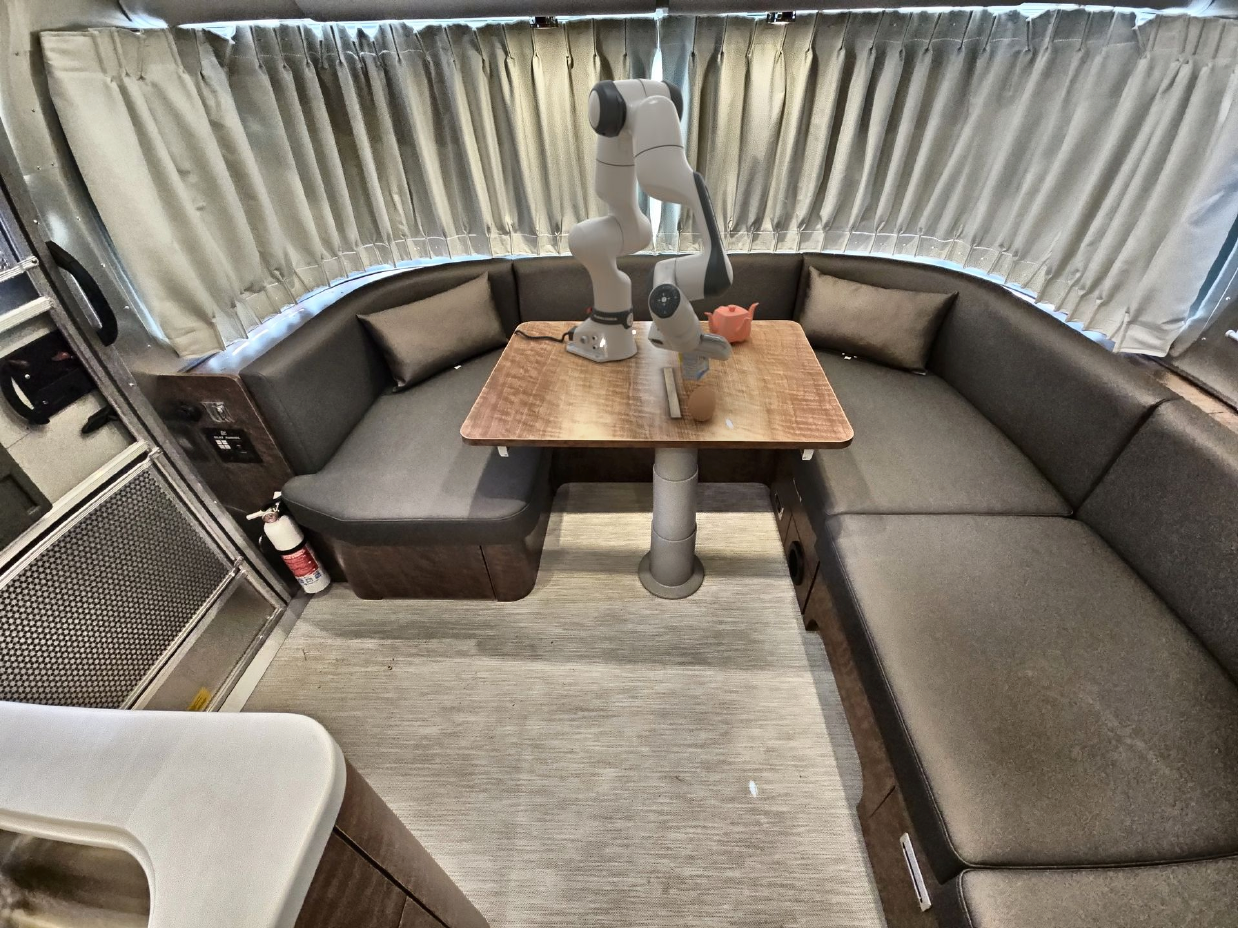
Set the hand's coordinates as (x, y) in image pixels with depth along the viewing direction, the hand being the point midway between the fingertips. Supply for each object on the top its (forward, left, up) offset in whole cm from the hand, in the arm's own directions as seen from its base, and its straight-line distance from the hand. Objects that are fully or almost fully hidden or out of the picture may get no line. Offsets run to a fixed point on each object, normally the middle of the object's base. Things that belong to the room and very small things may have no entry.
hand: (697, 355), depth 138 cm
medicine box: (0, -1, -5) cm, 5 cm away
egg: (+7, -14, -10) cm, 19 cm away
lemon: (-8, +12, -10) cm, 18 cm away
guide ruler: (-5, -4, -10) cm, 12 cm away
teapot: (-3, +37, -10) cm, 38 cm away
